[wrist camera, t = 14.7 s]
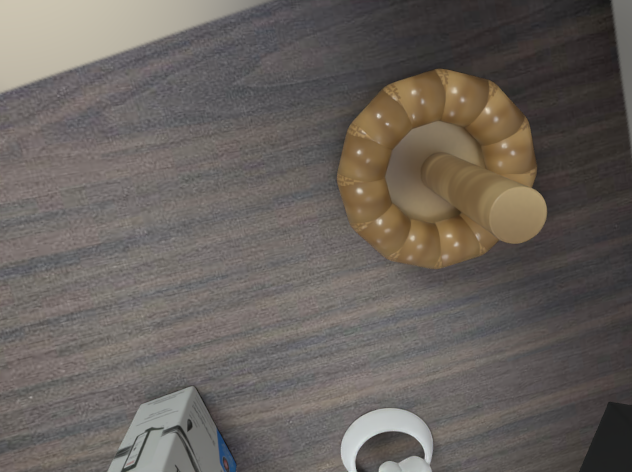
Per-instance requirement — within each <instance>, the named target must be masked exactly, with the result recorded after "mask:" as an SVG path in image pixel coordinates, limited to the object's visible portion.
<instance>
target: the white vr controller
mask: <svg viewBox="0 0 632 472" xmlns="http://www.w3.org/2000/svg"><path fill="white" fill-rule="evenodd" d="M388 431H399V432H404V433H407V434H409V435H411V436H413V437H414V438H416V439H417V440H418V441H419V442H420V443H421V445H422V447H423V448H424V452H425V458H424V459H422V458H420V457H418V456H411V457H408V458H407V459H405V460H403V461H401V462H400V463H396V462H393V461H387V462H385V463H383V464H382V465H381V466H380V468H379V472H432V470H431V468H430V462H431V458H432V453H433V438H432V435H431V431H430V430H429V428H428V426H427V425H426V423H425V422H424V421H423V420H422V419H421V418H420V417H418V416H417V415H415V414H414V413H411V412H409V411H407V410H403V409H398V408H384V409H378V410H374V411H371V412H369V413H367V414H365V415H363V416H361V417H360V418H358V419H357V420H356V421H354V422H353V423H352V425H351V426H350V427H349V428H348V429H347V431H346V433H345V434H344V437H343V440H342V443H341V458H342V461H343V464H344V466H345V467H346V469H347V471H348V472H357V470H356V466H355V460H356V455H357V453H358V450H359V449H360V447H361V446H362V445H363V444H364V443H365V442H366V441H367V440H368V439H369V438H371V437H373V436H375V435H377V434H379V433H383V432H388Z"/></svg>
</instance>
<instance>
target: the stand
mask: <svg viewBox="0 0 632 472" xmlns="http://www.w3.org/2000/svg"><path fill="white" fill-rule="evenodd" d="M385 179H386V182H387V186H388V190H389V193H390V197H391V200H392V202H393V203H394V204H395V205H396V206H397V207H398V208H399V209H400V210H401V211H402V212H403V213H404V214H405V215H407V216H408V217H409V218H411V219H415V220H420V221H425V222H430V223H436V222H439V221H442V220H445V219H448V218H452V217H455V216H458V215H459V214H460V213H461V212H462V213H464V214H465V215H466V216H468V217H469V218H470V219H472V220H473V221H475V222H476V223H477V224H479V225H480V226H481V227H483V228H484V229H486V230H487V231H488V232H490V233H491V234H492V235H494V236H495V237H497V238H498V239H499V240H501V241H503V242H506V243H511V244H517V243H522V242H525V241H528V240H530V239H531V238H533V237H534V236H535V235H537V234H538V233H539V231H540V230H541V229H542V227H543V225H544V223H545V221H546V217H547V206H546V203H545V200H544V198H543V197H542V195H541V194H540V193H539V192H538V191H536V190H535V189H532V188H530V187H528V186H525V185H523V184H521V183H518V182H516V181H513V180H511V179H509V178H506V177H504V176H501V175H499V174H497V173H494V172H492V171H489V170H487V169H486V167H485V163H484V158H483V153H482V148H481V144H480V143H479V142H478V141H477V140H476V139H475V138H474V137H473V136H472V135H471V134H470V133H469V132H468V131H467V130H466V129H465V128H464V127H463V126H459V125H454V124H450V123H446V122H441V121H436V122H433V123H430V124H427V125H424V126H420V127H417V128H414V129H412V130H411V131H410V132H409V133H408V134H407V135H406V136H405V137H404V138H403V139H402V140H401V141H400V142H399V144H398V145H397V146H396V147H395V148H394V149H393V150H392V153H391V157H390V160H389V164H388V168H387V172H386V176H385Z"/></svg>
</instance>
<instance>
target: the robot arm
mask: <svg viewBox="0 0 632 472" xmlns="http://www.w3.org/2000/svg"><path fill="white" fill-rule="evenodd" d="M579 472H632V405H626V404H620V403H614V402H609V403H608V405H607V408H606V410H605V412H604V415H603V417H602V419H601V422H600V424H599V426H598V429H597V431H596V433H595V436H594V438H593V440H592V443H591V445H590V447H589V450H588V452H587V454H586V457H585V459H584V461H583V464H582V466H581V468H580V471H579Z"/></svg>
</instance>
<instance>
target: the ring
mask: <svg viewBox="0 0 632 472" xmlns="http://www.w3.org/2000/svg"><path fill="white" fill-rule="evenodd" d="M436 121H441V122H446V123H450V124H454V125H459V126H463V127H464V128H465V129H466V130H467V131H468V132H469V133H470V134H471V135H472V136H473V137H474V138H475V139H476V140H477V141H478V142H479V143H480V144H481V148H482V153H483V158H484V163H485V167H486V169H487V170H489V171H492V172H494V173H497V174H499V175H501V176H504V177H506V178H509V179H511V180H513V181H516V182H518V183H521V184H523V185H525V186H528V187H530V188H532V186H533V183H534V180H535V177H536V173H537V163H536V158H535V152H534V147H533V141H532V136H531V130H530V125H529V122H528V120H527V118H526V117H525V115H524V114H523V113H522V112H521V111H520V110H519V109H518V108H517V106H516V105H515V104H514V103H513V102H512V101H511V100H510V99H509V98H508V97H507V96H506V95H505V93H504V92H503V91H502V90H501V89H500V88H499V87H498V86H497V85H496V84H495V83H494V82H492V81H490V80H487V79H484V78H480V77H476V76H472V75H467V74H463V73H459V72H455V71H451V70H447V69H434V70H431V71H428V72H425V73H422V74H418V75H415V76H412V77H409V78H406V79H403V80H400V81H397V82H394V83H391V84H389V85H387V86H386V87H384V88H383V89H382V90H381V91H380V92H379V93H378V94H377V95H376V96H375V97H374V99H373V100H372V101H371V102H370V103H369V104H368V105H367V106H366V107H365V108H364V110H363V111H362V112H361V113H360V114H359V115H358V116H357V117H356V118H355V119H354V121H353V122H352V123H351V124H350V126H349V128H348V130H347V133H346V138H345V142H344V146H343V150H342V155H341V159H340V163H339V167H338V172H337V184H338V187H339V191H340V194H341V197H342V200H343V204H344V207H345V210H346V214H347V217H348V220H349V223H350V225H351V227H352V228H353V229H354V230H355V232H357V233H358V234H359V235H360V236H361V237H362V238H363V239H364V240H365V241H367V242H368V243H369V244H370V245H371V246H372V247H373V248H374V249H376V250H377V251H378V252H379V253H380V254H381V255H382V256H384V257H385V258H386V259H388V260H391V261H394V262H399V263H404V264H409V265H414V266H419V267H424V268H429V269H440V268H443V267H447V266H450V265H453V264H456V263H460V262H463V261H466V260H469V259H473V258H476V257H479V256H481V255H483V254H485V253H486V252H488V251H489V250H490V249H491V248H492V247H493V246H494V245H495V244H496V243H497V242H498V241H499V239H498V238H497V237H495V236H494V235H492V234H491V233H490V232H488V231H487V230H486V229H484V228H483V227H481V226H480V225H479V224H477V223H476V222H475V221H473V220H472V219H470V218H469V217H468V216H466V215H465V214H464V213H462V212H461V213H460V214H459V215H458V216H455V217H452V218H448V219H445V220H442V221H439V222H436V223H430V222H425V221H420V220H415V219H411V218H409V217H408V216H407V215H405V214H404V213H403V212H402V211H401V210H400V209H399V208H398V207H397V206H396V205H395V204H394V203H393V202H392V200H391V197H390V193H389V190H388V186H387V182H386V179H385V176H386V172H387V168H388V164H389V160H390V157H391V153H392V150H393V149H394V148H395V147H396V146H397V145H398V144H399V142H400V141H401V140H402V139H403V138H404V137H405V136H406V135H407V134H408V133H409V132H410V131H411V130H412V129H414V128H417V127H420V126H424V125H427V124H430V123H433V122H436Z"/></svg>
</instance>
